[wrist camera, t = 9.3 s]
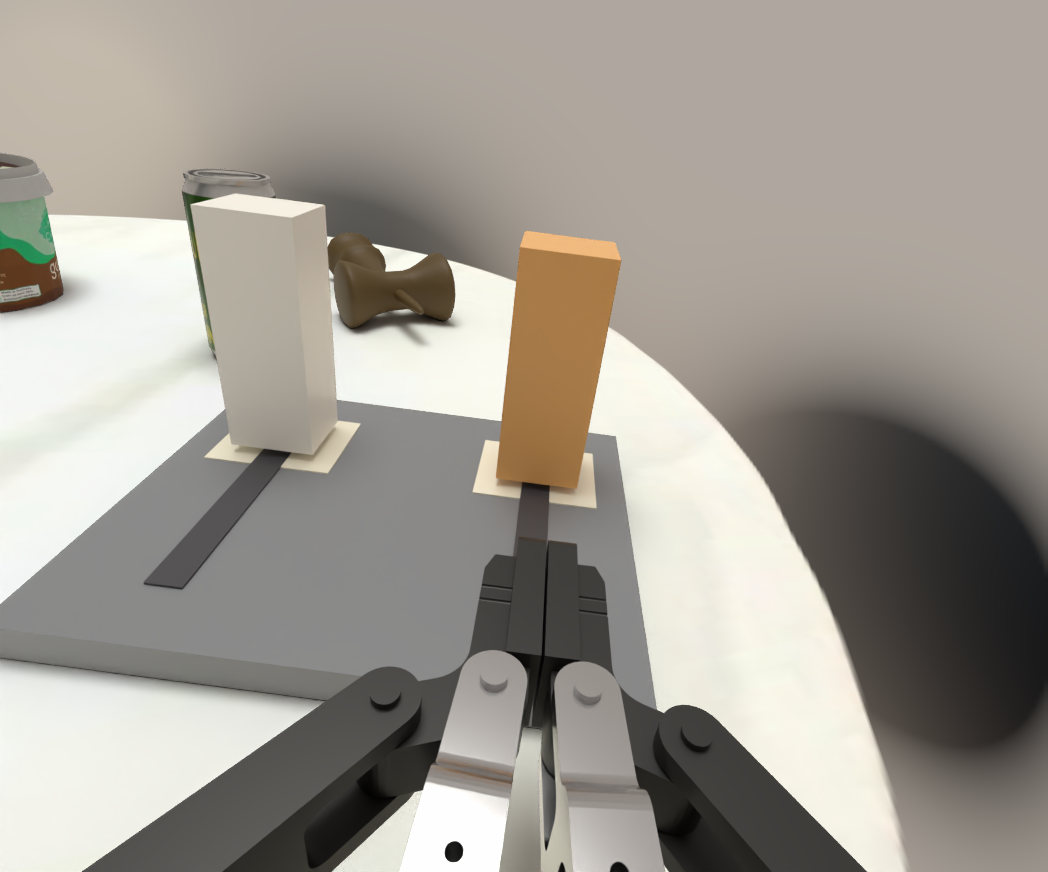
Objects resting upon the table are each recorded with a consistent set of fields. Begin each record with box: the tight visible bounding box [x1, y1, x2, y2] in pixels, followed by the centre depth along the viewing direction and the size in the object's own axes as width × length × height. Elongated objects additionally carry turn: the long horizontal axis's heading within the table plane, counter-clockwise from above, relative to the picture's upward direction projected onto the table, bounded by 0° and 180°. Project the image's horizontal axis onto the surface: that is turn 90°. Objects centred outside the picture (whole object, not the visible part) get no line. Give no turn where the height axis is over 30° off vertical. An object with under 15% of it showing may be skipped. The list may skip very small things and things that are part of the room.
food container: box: [0, 153, 63, 313], centre depth 45 cm, size 12×6×10 cm, turn 48°
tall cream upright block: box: [190, 194, 338, 455], centre depth 26 cm, size 4×4×11 cm
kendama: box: [327, 232, 455, 328], centre depth 52 cm, size 6×10×20 cm
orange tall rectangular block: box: [496, 231, 621, 489], centre depth 26 cm, size 4×4×11 cm
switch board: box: [0, 400, 657, 729], centre depth 26 cm, size 18×22×2 cm
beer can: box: [182, 169, 276, 355], centre depth 39 cm, size 5×5×12 cm
